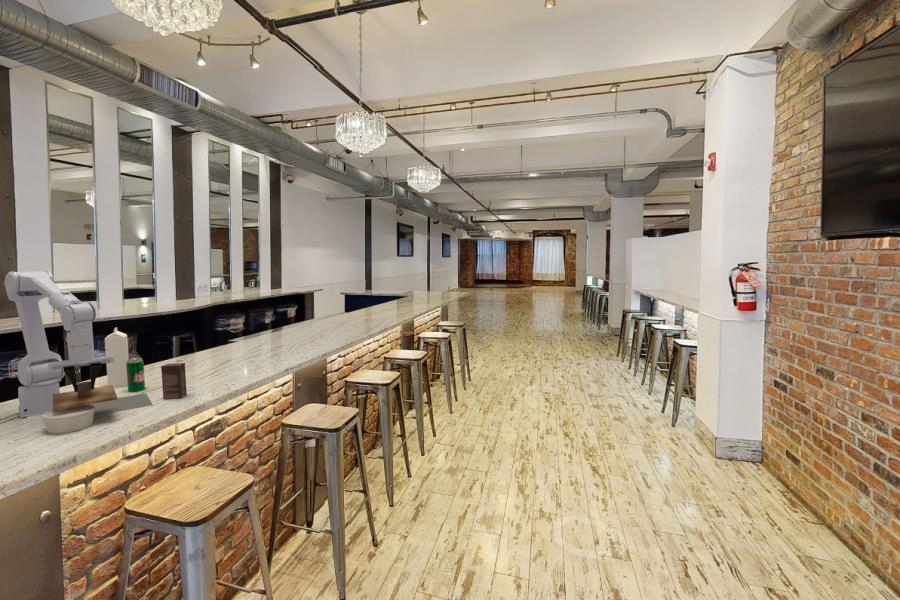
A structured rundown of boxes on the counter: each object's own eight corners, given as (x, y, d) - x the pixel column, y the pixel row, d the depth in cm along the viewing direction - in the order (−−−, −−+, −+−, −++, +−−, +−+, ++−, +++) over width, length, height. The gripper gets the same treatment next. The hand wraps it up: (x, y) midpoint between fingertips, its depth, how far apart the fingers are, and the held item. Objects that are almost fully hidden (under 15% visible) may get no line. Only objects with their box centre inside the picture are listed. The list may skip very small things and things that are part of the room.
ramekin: (82, 419, 129) (80, 402, 129) (104, 424, 125) (103, 407, 125) (34, 432, 119) (33, 414, 118) (57, 439, 115) (56, 420, 114)
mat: (89, 418, 130) (89, 416, 129) (87, 404, 141) (87, 403, 141) (153, 406, 140) (152, 405, 140) (146, 394, 152) (146, 393, 152)
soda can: (136, 393, 153) (134, 360, 152) (124, 392, 154) (122, 360, 153) (148, 389, 158) (146, 357, 157) (137, 388, 159) (135, 356, 158)
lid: (52, 410, 117) (51, 395, 117) (52, 396, 127) (51, 382, 127) (117, 399, 127) (116, 385, 126) (112, 387, 137) (111, 374, 136)
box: (187, 395, 151) (185, 362, 150) (181, 399, 147) (179, 365, 146) (168, 396, 150) (166, 362, 149) (162, 400, 146) (160, 366, 145)
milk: (108, 388, 159) (103, 329, 156) (111, 384, 164) (106, 327, 162) (128, 386, 162) (124, 328, 159) (130, 382, 167) (126, 326, 165)
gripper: (46, 350, 117) (50, 398, 119) (113, 343, 127) (116, 388, 128) (46, 346, 123) (50, 392, 124) (111, 340, 132) (114, 383, 134)
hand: (84, 390), depth 127 cm, fingers closed on lid, 3 cm apart
